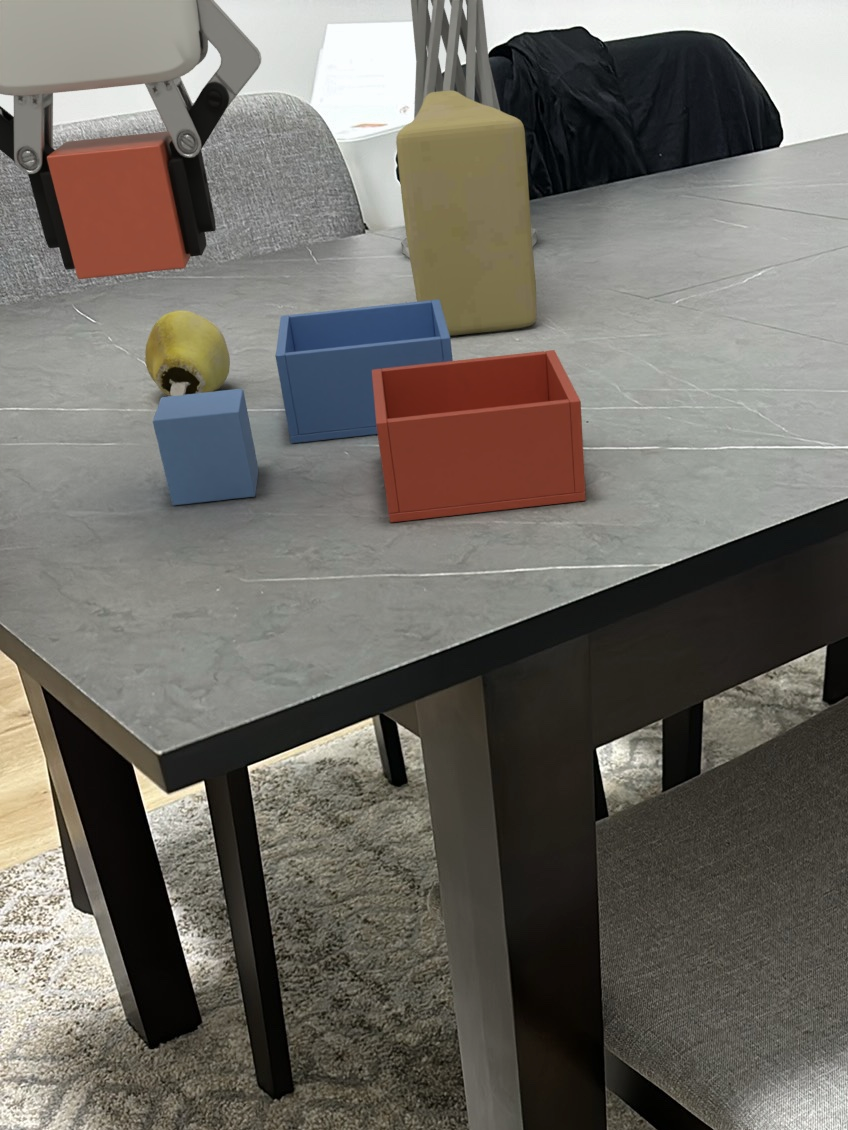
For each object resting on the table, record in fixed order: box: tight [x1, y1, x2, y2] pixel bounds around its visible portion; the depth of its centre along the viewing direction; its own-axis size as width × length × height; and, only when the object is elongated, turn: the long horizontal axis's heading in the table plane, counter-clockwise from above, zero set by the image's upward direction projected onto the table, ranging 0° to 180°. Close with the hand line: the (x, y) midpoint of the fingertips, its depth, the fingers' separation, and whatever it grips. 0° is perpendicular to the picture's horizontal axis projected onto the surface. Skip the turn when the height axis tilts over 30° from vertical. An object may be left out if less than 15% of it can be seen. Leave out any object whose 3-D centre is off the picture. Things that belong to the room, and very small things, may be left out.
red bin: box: [372, 349, 587, 523], centre depth 81 cm, size 11×11×6 cm
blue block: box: [152, 388, 260, 506], centre depth 84 cm, size 5×5×5 cm
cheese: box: [395, 90, 538, 337], centre depth 115 cm, size 22×10×15 cm, turn 7°
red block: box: [47, 130, 191, 280], centre depth 65 cm, size 5×5×5 cm
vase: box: [400, 0, 538, 259], centre depth 129 cm, size 14×13×35 cm
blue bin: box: [275, 299, 454, 444], centre depth 95 cm, size 11×11×6 cm
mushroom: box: [144, 309, 231, 397], centre depth 100 cm, size 6×6×10 cm
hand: (136, 252), depth 66 cm, fingers closed on red block, 5 cm apart
